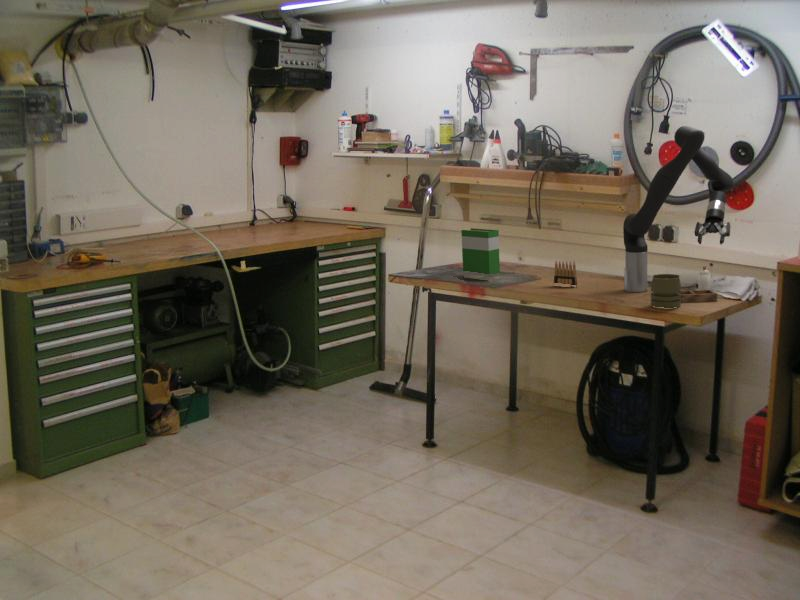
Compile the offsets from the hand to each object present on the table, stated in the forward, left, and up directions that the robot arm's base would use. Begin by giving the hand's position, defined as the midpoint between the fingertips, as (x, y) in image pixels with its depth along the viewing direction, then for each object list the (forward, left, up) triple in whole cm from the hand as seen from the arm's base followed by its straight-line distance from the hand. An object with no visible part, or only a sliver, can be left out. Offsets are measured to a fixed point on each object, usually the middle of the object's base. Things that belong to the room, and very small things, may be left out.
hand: (710, 243), depth 367 cm
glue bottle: (-5, -10, -20) cm, 23 cm away
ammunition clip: (-60, +16, -20) cm, 65 cm away
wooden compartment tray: (-13, -21, -20) cm, 32 cm away
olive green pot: (-26, -32, -20) cm, 46 cm away
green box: (-97, +46, -20) cm, 109 cm away
